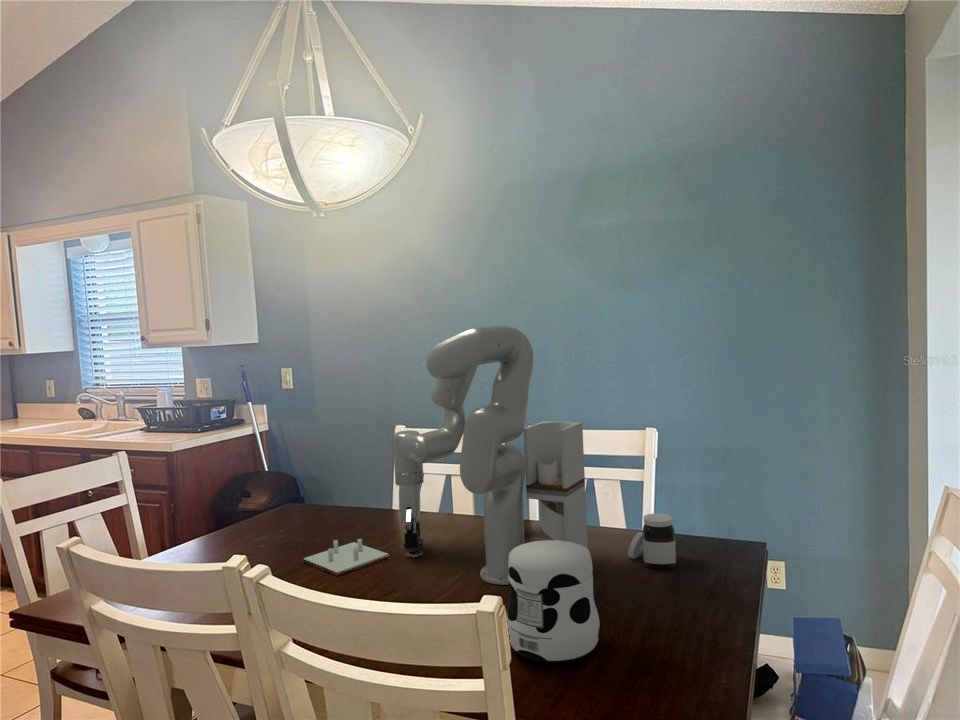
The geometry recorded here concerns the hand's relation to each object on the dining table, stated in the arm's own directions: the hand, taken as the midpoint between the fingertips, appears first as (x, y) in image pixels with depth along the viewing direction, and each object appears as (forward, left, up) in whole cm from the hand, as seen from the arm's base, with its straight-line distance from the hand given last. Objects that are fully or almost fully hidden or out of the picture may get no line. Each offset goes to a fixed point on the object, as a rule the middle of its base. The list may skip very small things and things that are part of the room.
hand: (412, 542), depth 180 cm
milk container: (-61, +17, -4) cm, 63 cm away
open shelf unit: (-36, -17, -4) cm, 40 cm away
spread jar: (-53, -32, -4) cm, 62 cm away
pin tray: (+11, +14, -3) cm, 18 cm away
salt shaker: (0, 0, -4) cm, 4 cm away
